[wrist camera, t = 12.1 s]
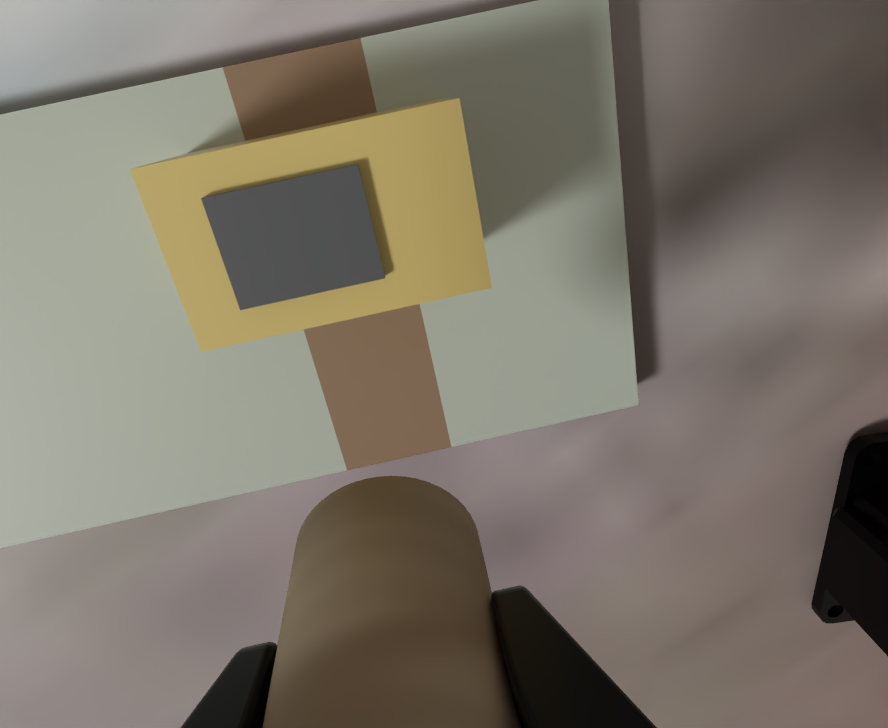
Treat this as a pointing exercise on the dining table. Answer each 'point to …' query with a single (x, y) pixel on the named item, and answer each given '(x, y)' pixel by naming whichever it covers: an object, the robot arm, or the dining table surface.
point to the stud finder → (319, 223)
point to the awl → (389, 617)
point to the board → (323, 347)
